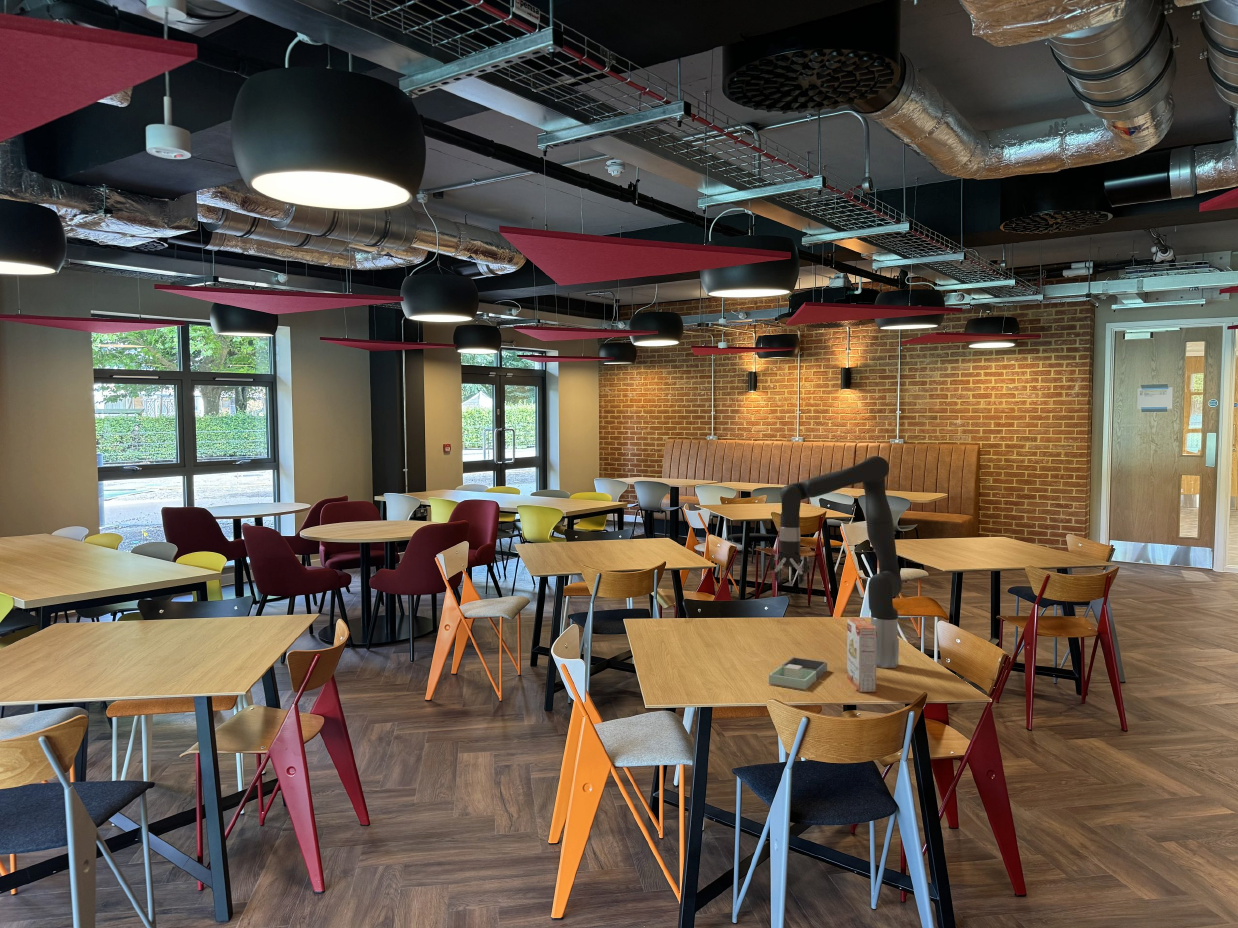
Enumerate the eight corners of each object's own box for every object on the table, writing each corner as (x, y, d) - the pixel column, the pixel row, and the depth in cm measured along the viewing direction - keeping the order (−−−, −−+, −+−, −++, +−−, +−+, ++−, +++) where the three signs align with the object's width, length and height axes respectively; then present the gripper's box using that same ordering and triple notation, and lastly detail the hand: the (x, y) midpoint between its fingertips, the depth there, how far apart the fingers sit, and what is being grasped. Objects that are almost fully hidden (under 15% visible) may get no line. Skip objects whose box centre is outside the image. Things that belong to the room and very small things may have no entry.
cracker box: (845, 679, 264) (846, 617, 263) (863, 679, 264) (864, 618, 263) (857, 692, 250) (858, 627, 249) (876, 692, 250) (877, 627, 249)
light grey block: (801, 680, 260) (802, 665, 260) (797, 684, 256) (797, 669, 256) (788, 678, 262) (788, 663, 262) (784, 682, 258) (784, 667, 258)
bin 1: (816, 681, 261) (816, 671, 261) (805, 691, 251) (805, 680, 251) (780, 675, 267) (781, 665, 267) (768, 685, 257) (768, 674, 257)
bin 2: (827, 672, 273) (827, 662, 272) (817, 680, 262) (817, 670, 262) (792, 666, 279) (793, 657, 279) (781, 675, 268) (781, 665, 268)
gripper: (811, 539, 288) (811, 583, 289) (774, 537, 295) (773, 579, 296) (805, 541, 282) (805, 586, 282) (767, 538, 289) (767, 582, 289)
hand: (789, 583), depth 289 cm, fingers open, 8 cm apart
